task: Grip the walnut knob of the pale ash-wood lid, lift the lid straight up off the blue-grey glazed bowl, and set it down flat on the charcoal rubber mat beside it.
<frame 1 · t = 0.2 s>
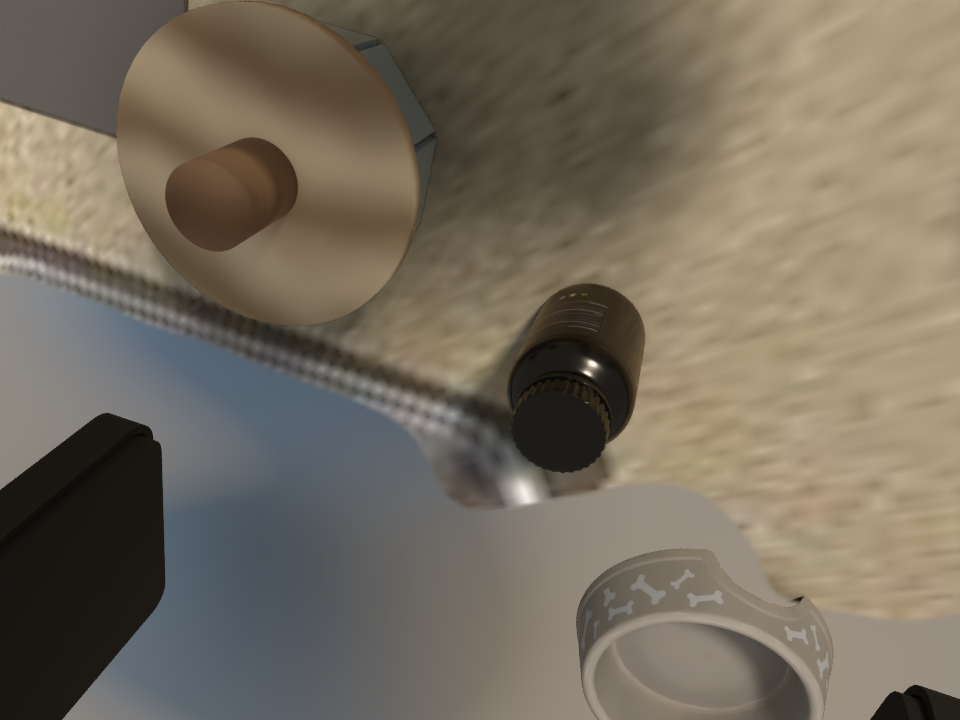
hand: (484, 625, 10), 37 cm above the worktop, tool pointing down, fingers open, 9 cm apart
bowl: (318, 148, 47), on the worktop
supplement bottle: (591, 329, 48), on the worktop
lid: (270, 173, 42), point 6 cm above the worktop, touching bowl
dog bowl: (698, 640, 58), on the worktop
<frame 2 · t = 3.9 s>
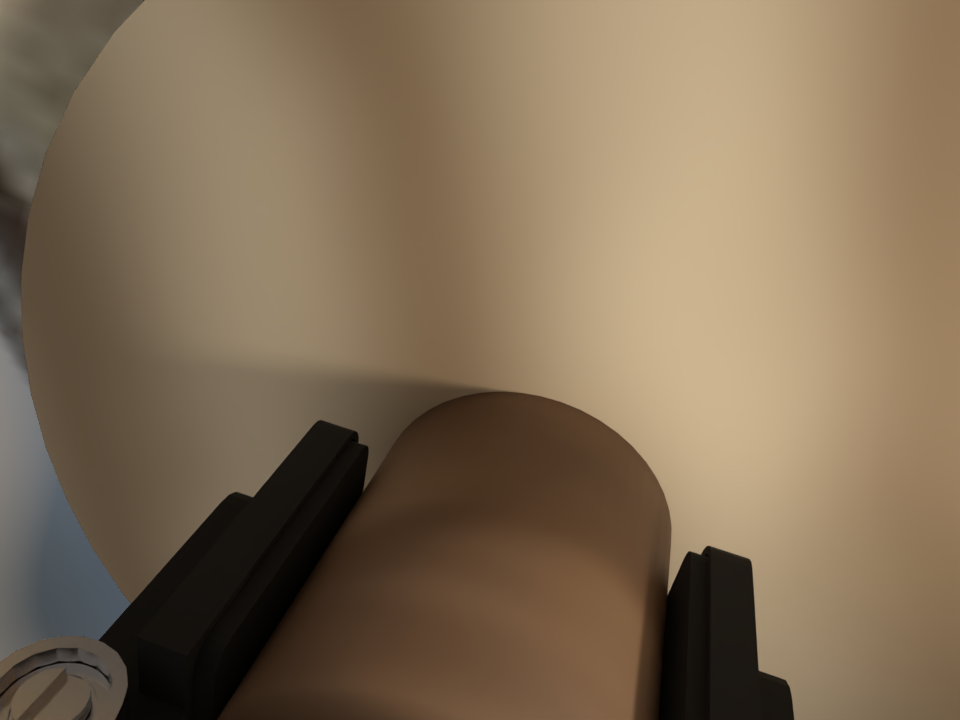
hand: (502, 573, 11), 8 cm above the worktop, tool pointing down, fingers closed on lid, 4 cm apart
lid: (535, 473, 13), point 6 cm above the worktop, touching bowl, gripper
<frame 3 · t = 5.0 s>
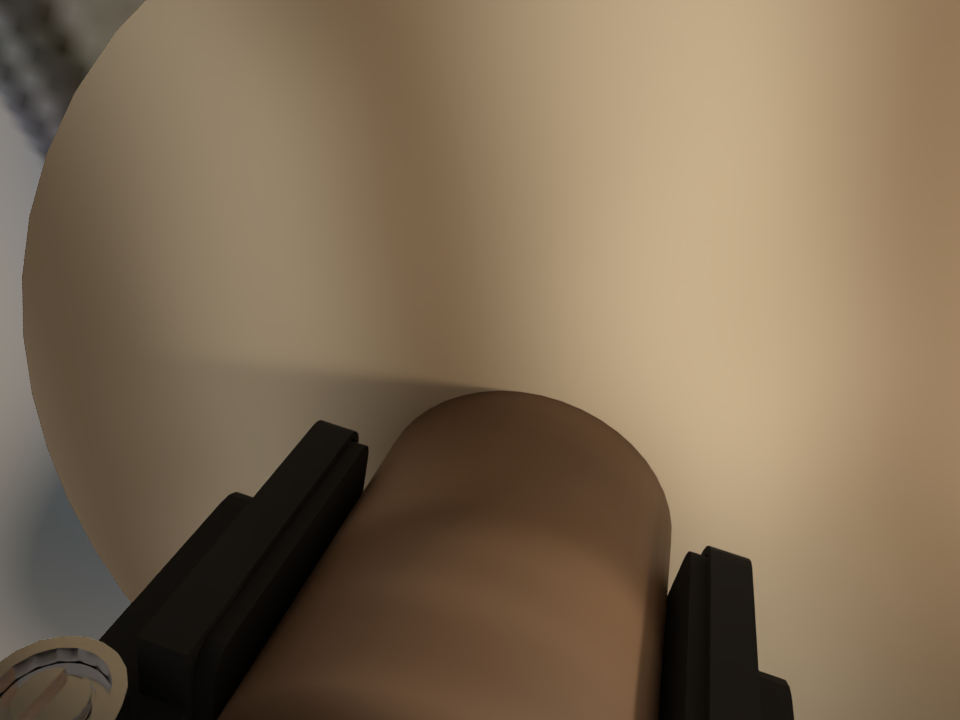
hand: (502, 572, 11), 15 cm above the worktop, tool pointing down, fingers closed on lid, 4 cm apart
lid: (536, 472, 13), point 12 cm above the worktop, touching gripper
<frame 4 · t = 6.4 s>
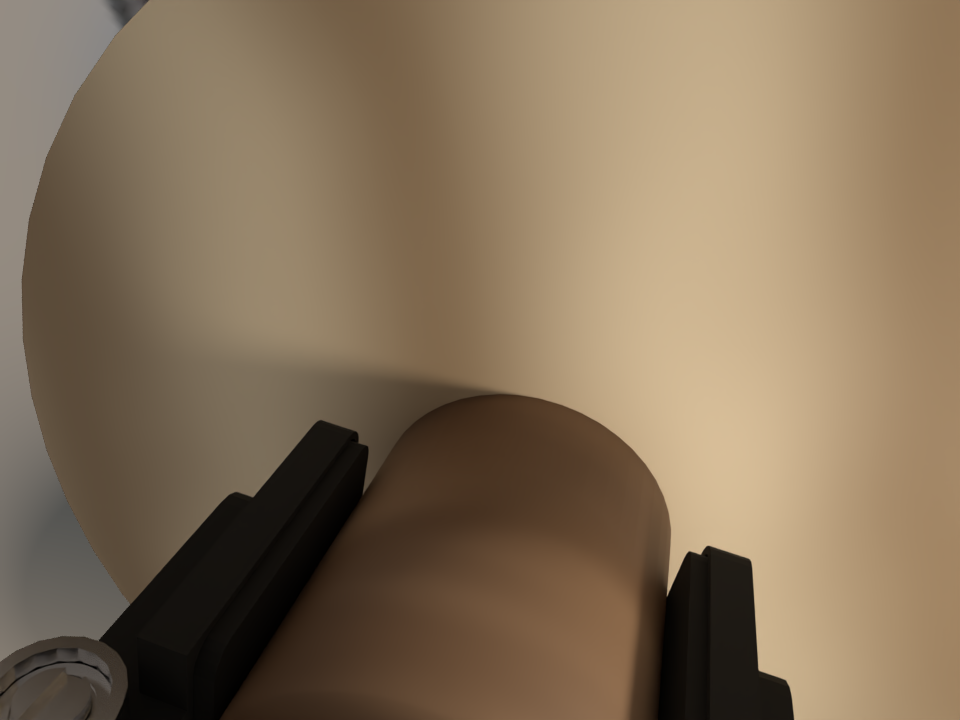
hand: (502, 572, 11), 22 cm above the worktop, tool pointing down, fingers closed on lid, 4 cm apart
lid: (535, 475, 13), point 20 cm above the worktop, touching gripper
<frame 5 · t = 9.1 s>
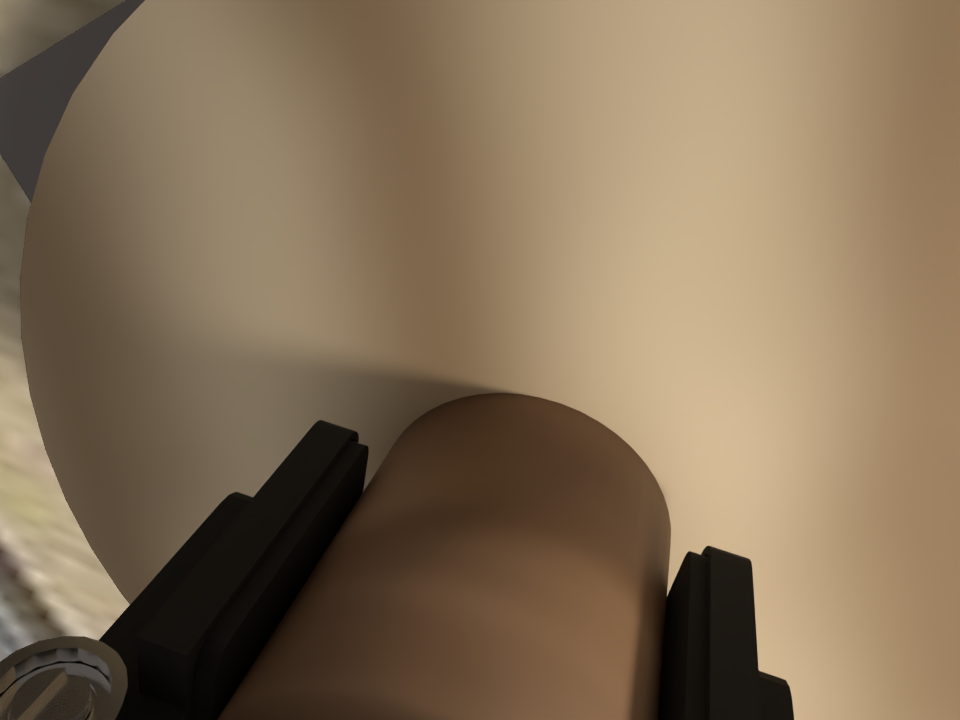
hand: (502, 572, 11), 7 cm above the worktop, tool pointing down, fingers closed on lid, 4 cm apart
mat: (586, 356, 16), on the worktop
lid: (535, 474, 13), point 5 cm above the worktop, touching gripper
when the fingers open (4 cm above the worktop, at t = 9.8 s): lid drops 2 cm, resting on mat.
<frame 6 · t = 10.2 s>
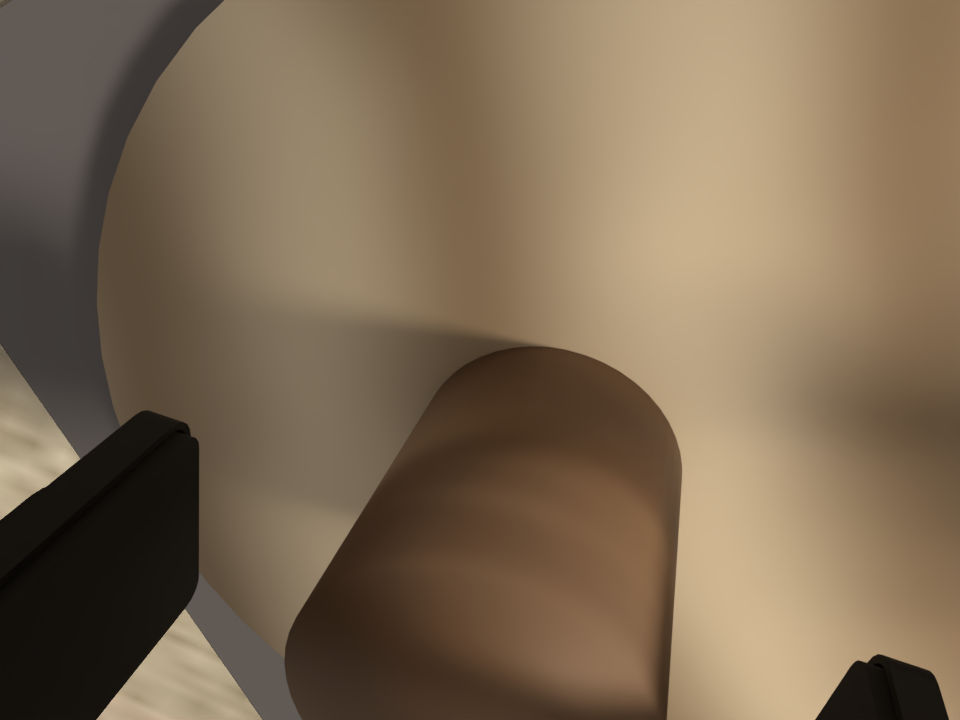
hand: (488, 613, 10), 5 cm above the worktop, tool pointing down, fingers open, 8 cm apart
mat: (556, 410, 14), on the worktop
lid: (558, 426, 14), resting on mat
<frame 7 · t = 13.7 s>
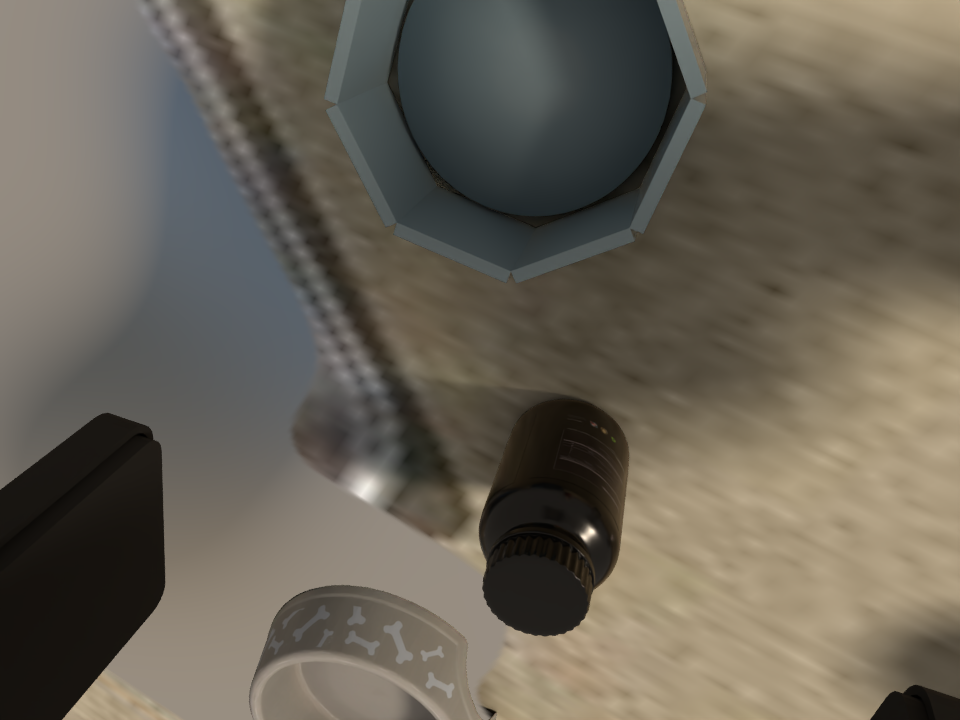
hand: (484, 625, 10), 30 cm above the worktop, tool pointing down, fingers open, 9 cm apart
bowl: (532, 78, 35), on the worktop
supplement bottle: (571, 444, 44), on the worktop
dog bowl: (381, 674, 58), on the worktop
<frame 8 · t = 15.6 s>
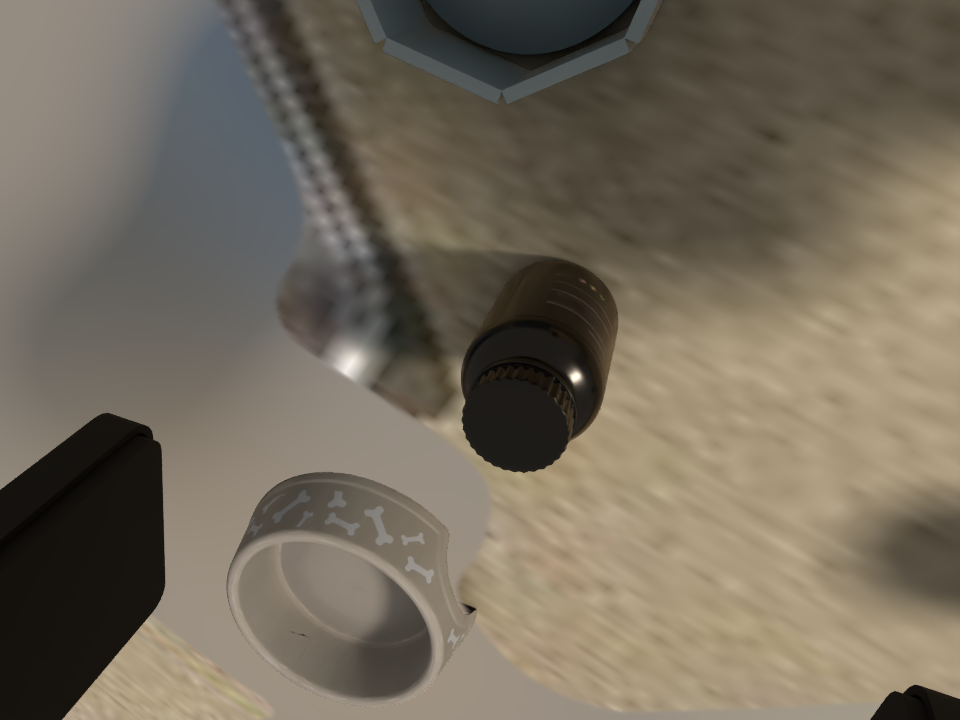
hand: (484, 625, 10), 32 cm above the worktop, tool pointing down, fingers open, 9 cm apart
supplement bottle: (560, 312, 43), on the worktop
dog bowl: (361, 570, 58), on the worktop
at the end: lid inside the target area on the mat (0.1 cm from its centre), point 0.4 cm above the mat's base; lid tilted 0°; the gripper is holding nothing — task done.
